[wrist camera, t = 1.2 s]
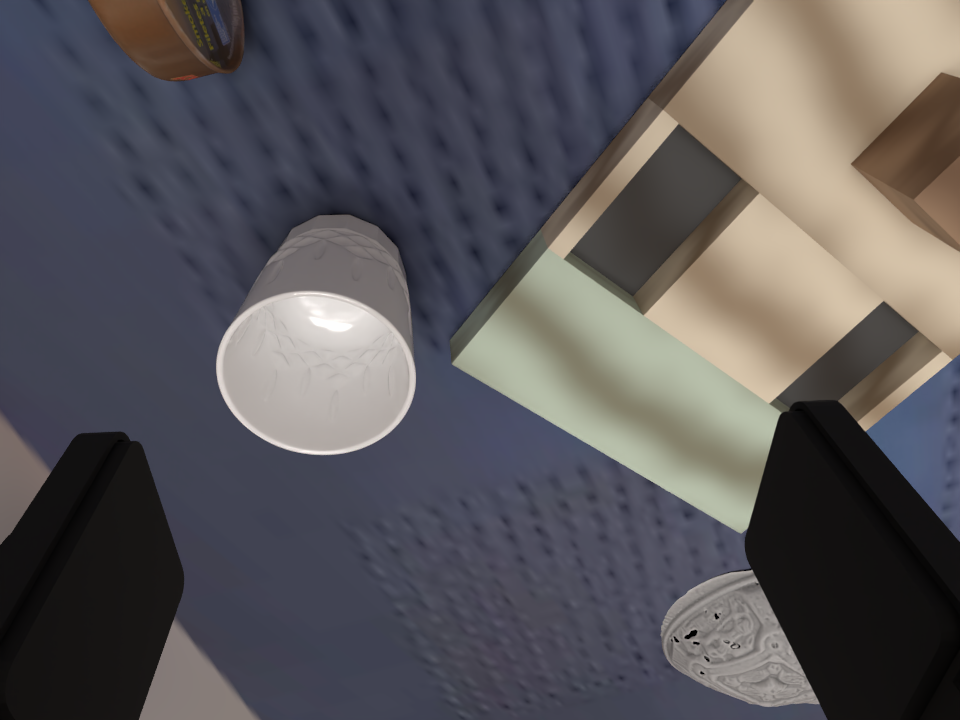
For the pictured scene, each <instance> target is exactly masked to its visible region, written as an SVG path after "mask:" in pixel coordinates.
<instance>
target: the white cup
mask: <svg viewBox="0 0 960 720" xmlns="http://www.w3.org/2000/svg"><path fill="white" fill-rule="evenodd" d="M216 371H217V379H218V384H219V388H220V391H221V393H222V396H223V398H224V400H225V402H226V404H227V405H228V407H229V408H230V410H231V411H232V413H233V414H234V415H235V416H236V417H237V419H238V420H239V421H240V422H241V423H242V424H243V425H244V426H246V427H247V428H248V429H249V430H250V431H252V432H253V433H254V434H256V435H257V436H259V437H260V438H262V439H264V440H266V441H268V442H270V443H272V444H274V445H276V446H279V447H281V448H284V449H287V450H291V451H294V452H299V453H305V454H313V455H333V454H341V453H347V452H351V451H355V450H358V449H361V448H364V447H366V446H369V445H371V444H373V443H375V442H376V441H378V440H380V439H381V438H383V437H384V436H386V435H387V434H388V433H389V432H391V431H392V430H393V429H394V428H395V427H396V426H397V425H398V424H399V422H400V421H401V420H402V419H403V417H404V416H405V414H406V413H407V411H408V409H409V407H410V405H411V402H412V399H413V396H414V392H415V385H416V371H415V359H414V345H413V330H412V317H411V310H410V299H409V292H408V287H407V281H406V273H405V269H404V266H403V263H402V260H401V256H400V253H399V250H398V248H397V246H396V245H395V244H394V243H393V242H392V241H391V240H390V239H389V238H388V237H387V236H386V235H385V234H384V233H383V232H382V231H381V229H380V228H379V227H378V226H375V225H373V224H371V223H368V222H366V221H363V220H361V219H359V218H356V217H354V216H351V215H318V216H316V217H314V218H312V219H310V220H308V221H306V222H304V223H302V224H300V225H298V226H296V227H294V228H293V229H292V230H291V231H290V233H289V234H288V235H287V237H286V238H285V240H284V241H283V243H282V244H281V245H280V247H279V248H278V250H277V251H276V253H275V254H274V255H273V256H272V257H271V258H270V259H269V261H268V262H267V264H266V266H265V267H264V268H263V269H262V271H261V273H260V274H259V276H258V278H257V279H256V281H255V283H254V284H253V286H252V288H251V290H250V291H249V293H248V295H247V297H246V298H245V300H244V302H243V304H242V305H241V307H240V309H239V311H238V312H237V314H236V316H235V318H234V319H233V321H232V323H231V324H230V326H229V328H228V329H227V331H226V333H225V335H224V337H223V339H222V341H221V344H220V346H219V350H218V354H217V362H216Z"/></svg>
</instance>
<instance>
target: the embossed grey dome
mask: <svg viewBox="0 0 960 720" xmlns="http://www.w3.org/2000/svg"><path fill="white" fill-rule="evenodd" d="M756 583H759V582H758V580H757V578H756V576H755V574H754V572H753V570H749V571H740V572H730V573H727V574H723V575H720V576H717V577H714V578H712V579H709V580H708V581H706V582H703V583H701V584H700V585H698V586H697V587H695V588H693V589H691V590H689V591H688V592H687V594H686V595H684V596H683V597H681V598H679V599H678V600H677V601H676V602H675V603H674V604H673V605H672V607H671V608H670V609H669V611H668V613H667V615H666V616H665V618H666V619H664V621H663V625H662V626H661V627H662V628H661V630H662V633H661V636H662V648H663V651H664V654H665V656H666V658H667V659H668V661H669V662H670V663H671V665H672V666H674V667H675V668H676V669H677V670H679V671H680V672H682V673H683V674H685V675H687V676H689V677H691V678H692V679H694V680H696V681H697V682H700V683H702V684H704V685H705V686H707V687H710V688H712V689H714V690H716V691H720V692H722V693H725V694H728V695H730V696H732V697H736V698H738V699H741V700H744V701H746V702H747V703H749V704H758V705H761V706H767V707H771V706H776V707H777V706H782V705H788V704H792V703H794V704H798V703H811V704H820V703H819V701H818V699H817V697H816V695H815V694H814V692H813V690H812V688H811V686H810V684H809V682H808V680H807V678H806V676H805V674H804V672H803V670H802V668H801V666H800V664H799V662H798V660H797V658H796V656H795V654H794V652H793V650H792V648H791V646H790V644H789V642H788V640H787V638H786V636H785V634H784V632H783V630H782V628H781V626H780V624H779V622H778V620H777V618H776V616H775V614H774V612H773V610H772V608H771V606H770V604H769V602H768V600H767V598H766V596H765V594H764V592H763V590H762V588H761V586H760V584H758V585H756ZM706 610H707V612H706V613H705V611H706ZM715 613H716V614H717V616H719V619H717V620H716V619H715V616H714V615H715ZM719 613H721V615H720V614H719ZM692 630H697V631H698V632H697V635H696V636H693V637H691V638H690V639H685V638H684V637H685V635H688V634H690V632H691V631H692ZM673 636H675V637H676V638H677V639H678V640H679V643H678V642H675V640H674V637H673ZM671 639H672V640H673V642H672V641H671ZM723 640H724V641H725V642H728V641H729V642H730V643H729V644H727V643H725V642H724V641H723ZM693 641H695V642H699V643H700V644H699V645H696V644H695V645H694V644H693ZM733 642H734V643H735V644H736V645H734V646H732V648H735V649H732V648H731V647H730V646H731V645H732V644H734V643H733ZM738 644H739V645H740V648H738V647H739V645H738ZM737 648H738V649H737ZM704 656H706V657H708V659H709V660H710V662H707V661H706V659H705V658H704ZM701 671H702V672H703V673H705V674H700V672H701Z"/></svg>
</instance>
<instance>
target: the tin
mask: <svg viewBox="0 0 960 720" xmlns="http://www.w3.org/2000/svg"><path fill="white" fill-rule="evenodd" d="M88 1H89V3H90V4H91V6H92V8H93V10H94V11H95V13H96V14H97V16H98V18H99V19H100V21H101V22H102V24H103V25H104V27H105V28H106V30H107V31H108V32H109V34H110V35H111V36H112V38H113V39H114V40H115V42H116V43H117V44H118V45H119V46H120V47H121V49H122V50H123V51H124V52H125V53H126V54H127V55H128V56H129V57H130V58H131V59H132V60H133V61H134V62H135V63H136V64H137V65H138V66H140V67H141V68H142V69H144V70H145V71H146V72H148V73H149V74H151V75H152V76H154V77H156V78H159V79H162V80H167V81H185V80H190V79H194V78H198V77H202V76H206V75H210V74H214V73H232V72H234V71H235V70H236V69H237V68H238V67H239V66H240V64H241V61H242V58H243V53H244V20H243V11H242V5H241V0H88Z"/></svg>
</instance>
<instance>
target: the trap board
mask: <svg viewBox="0 0 960 720" xmlns="http://www.w3.org/2000/svg"><path fill="white" fill-rule="evenodd" d="M941 72H942V73H945V74H949V75H952V76H955V77H959V78H960V0H727V1H726V2H725V4H724V5H723V6H722V7H721V9H720V10H719V11H718V12H717V13H716V15H715V16H714V17H713V18H712V20H711V21H710V22H709V23H708V24H707V26H706V27H705V28H704V29H703V31H702V32H701V33H700V34H699V35H698V37H697V38H696V39H695V40H694V42H693V43H692V44H691V45H690V46H689V48H688V49H687V50H686V51H685V53H684V54H683V55H682V56H681V58H680V59H679V60H678V61H677V62H676V64H675V65H674V66H673V67H672V69H671V70H670V71H669V72H668V73H667V75H666V76H665V77H664V78H663V80H662V81H661V82H660V83H659V84H658V86H657V87H656V88H655V89H654V91H653V92H652V93H651V94H650V96H649V97H648V98H647V99H646V100H645V102H644V103H643V104H642V105H641V107H640V108H639V109H638V110H637V111H636V113H635V114H634V115H633V116H632V118H631V119H630V120H629V121H628V122H627V124H626V125H625V126H624V127H623V129H622V130H621V131H620V132H619V134H618V135H617V136H616V137H615V138H614V140H613V141H612V142H611V143H610V145H609V146H608V147H607V148H606V149H605V151H604V152H603V153H602V154H601V156H600V157H599V158H598V159H597V160H596V162H595V163H594V164H593V165H592V167H591V168H590V169H589V170H588V172H587V173H586V174H585V175H584V176H583V178H582V179H581V180H580V181H579V183H578V184H577V185H576V186H575V187H574V189H573V190H572V191H571V192H570V194H569V195H568V196H567V197H566V198H565V200H564V201H563V202H562V203H561V205H560V206H559V207H558V208H557V209H556V211H555V212H554V213H553V214H552V216H551V217H550V218H549V219H548V221H547V222H546V223H545V224H544V225H543V227H542V228H541V229H540V230H539V232H538V233H537V234H536V235H535V236H534V238H533V239H532V240H531V241H530V243H529V244H528V245H527V246H526V247H525V249H524V250H523V251H522V252H521V254H520V255H519V256H518V257H517V259H516V260H515V261H514V262H513V263H512V265H511V266H510V267H509V268H508V270H507V271H506V272H505V273H504V274H503V276H502V277H501V278H500V279H499V281H498V282H497V283H496V284H495V285H494V287H493V288H492V289H491V290H490V292H489V293H488V294H487V295H486V297H485V298H484V299H483V300H482V301H481V303H480V304H479V305H478V306H477V308H476V309H475V310H474V311H473V312H472V314H471V315H470V316H469V317H468V319H467V320H466V321H465V322H464V323H463V325H462V326H461V327H460V328H459V330H458V331H457V332H456V333H455V335H454V336H453V337H452V338H451V339H450V348H451V362H452V364H453V365H454V366H456V367H458V368H459V369H461V370H463V371H464V372H466V373H468V374H470V375H471V376H473V377H475V378H476V379H478V380H480V381H482V382H483V383H485V384H487V385H488V386H490V387H492V388H493V389H495V390H497V391H499V392H500V393H502V394H504V395H505V396H507V397H509V398H510V399H512V400H514V401H516V402H517V403H519V404H521V405H522V406H524V407H526V408H528V409H529V410H531V411H533V412H534V413H536V414H538V415H539V416H541V417H543V418H545V419H546V420H548V421H550V422H551V423H553V424H555V425H556V426H558V427H560V428H562V429H563V430H565V431H567V432H568V433H570V434H572V435H574V436H575V437H577V438H579V439H580V440H582V441H584V442H585V443H587V444H589V445H591V446H592V447H594V448H596V449H597V450H599V451H601V452H603V453H604V454H606V455H608V456H609V457H611V458H613V459H614V460H616V461H618V462H620V463H621V464H623V465H625V466H626V467H628V468H630V469H631V470H633V471H635V472H637V473H638V474H640V475H642V476H643V477H645V478H647V479H649V480H650V481H652V482H654V483H655V484H657V485H659V486H660V487H662V488H664V489H666V490H667V491H669V492H671V493H672V494H674V495H676V496H677V497H679V498H681V499H683V500H684V501H686V502H688V503H689V504H691V505H693V506H695V507H696V508H698V509H700V510H701V511H703V512H705V513H706V514H708V515H710V516H712V517H713V518H715V519H717V520H718V521H720V522H722V523H724V524H725V525H727V526H729V527H730V528H732V529H734V530H735V531H737V532H739V533H742V532H744V531H745V530H746V529H747V528H748V526H749V522H750V519H751V515H752V512H753V508H754V504H755V501H756V497H757V494H758V490H759V486H760V483H761V479H762V475H763V472H764V468H765V465H766V461H767V457H768V454H769V450H770V447H771V443H772V439H773V436H774V432H775V428H776V425H777V421H778V418H779V416H780V414H781V413H782V412H785V411H789V409H790V407H791V406H792V404H793V403H795V402H797V401H814V400H836V401H838V402H840V403H841V404H842V405H843V406H844V407H845V408H846V410H847V411H848V412H849V413H850V414H851V415H852V417H853V418H854V419H855V420H856V421H857V422H858V424H859V425H860V426H861V427H862V428H863V430H864V431H866V430H868V429H869V428H870V427H871V426H873V425H874V424H875V423H876V422H877V421H879V420H880V419H881V418H882V417H883V416H885V415H886V414H887V413H888V412H890V411H891V410H892V409H893V408H894V407H896V406H897V405H898V404H899V403H900V402H902V401H903V400H904V399H905V398H907V397H908V396H909V395H910V394H911V393H913V392H914V391H915V390H916V389H918V388H919V387H920V386H921V385H922V384H924V383H925V382H926V381H927V380H928V379H930V378H931V377H932V376H933V375H935V374H936V373H937V372H938V371H939V370H941V369H942V368H943V367H944V366H946V365H947V364H948V363H949V362H950V361H952V360H953V359H954V358H955V357H956V356H958V355H959V354H960V252H959V251H957V250H955V249H954V248H952V247H951V246H949V245H947V244H946V243H944V242H942V241H941V240H939V239H938V238H936V237H934V236H933V235H931V234H930V233H928V232H926V231H925V230H923V229H921V228H920V227H918V226H917V225H915V224H913V223H912V222H911V221H910V220H909V219H908V218H907V217H906V216H904V215H903V214H902V213H901V212H900V211H899V210H898V209H897V208H896V207H895V206H894V205H893V204H892V203H891V202H890V201H889V200H888V199H887V198H886V197H885V196H884V195H883V194H881V193H880V192H879V191H878V190H877V189H876V188H875V187H874V186H873V185H872V184H871V183H870V182H869V181H868V180H867V179H866V178H865V177H864V176H863V175H862V174H861V173H859V172H858V171H857V170H856V169H855V168H854V167H853V166H852V165H851V163H852V162H853V161H854V160H855V159H856V158H857V157H858V156H859V155H860V154H861V153H862V152H863V151H864V150H865V149H866V148H867V147H868V146H869V145H870V144H871V143H872V142H873V141H874V140H875V139H876V138H877V137H878V136H879V135H880V134H881V133H882V132H883V131H884V130H885V129H886V128H887V127H888V126H889V125H890V124H891V123H892V122H893V121H894V120H895V119H896V118H897V117H898V116H899V114H900V113H901V112H902V111H903V110H904V109H905V108H906V107H907V106H908V105H909V104H910V103H911V102H912V101H913V100H914V99H915V98H916V97H917V96H918V95H919V94H920V93H921V92H922V91H923V90H924V89H925V88H926V87H927V86H928V85H929V84H930V83H931V82H932V81H933V80H934V79H935V78H936V77H937V76H938V75H939V74H940V73H941Z"/></svg>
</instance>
